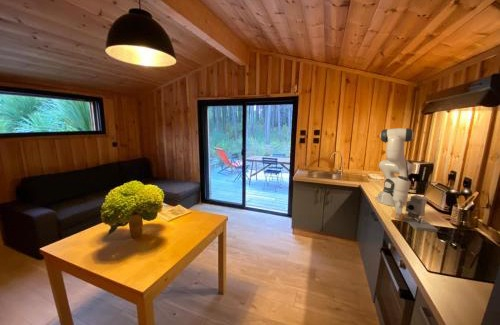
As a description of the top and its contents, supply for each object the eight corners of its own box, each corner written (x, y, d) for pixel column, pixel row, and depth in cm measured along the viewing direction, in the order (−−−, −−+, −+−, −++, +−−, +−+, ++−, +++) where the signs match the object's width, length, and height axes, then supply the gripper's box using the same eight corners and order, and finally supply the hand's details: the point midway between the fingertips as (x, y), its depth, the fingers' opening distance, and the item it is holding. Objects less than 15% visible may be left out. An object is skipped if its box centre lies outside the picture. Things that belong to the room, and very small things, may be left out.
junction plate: (403, 219, 163) (404, 210, 161) (422, 221, 161) (424, 212, 160) (416, 229, 147) (418, 220, 146) (437, 232, 145) (439, 222, 144)
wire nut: (391, 216, 168) (392, 208, 167) (398, 217, 167) (400, 209, 166) (395, 219, 163) (396, 211, 162) (402, 219, 162) (403, 212, 161)
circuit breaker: (403, 215, 171) (406, 197, 168) (413, 212, 177) (416, 195, 175) (414, 219, 164) (417, 200, 162) (423, 216, 171) (427, 198, 168)
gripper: (406, 203, 152) (402, 221, 154) (404, 195, 169) (401, 212, 172) (395, 201, 155) (392, 219, 158) (394, 194, 172) (391, 210, 175)
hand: (396, 215), depth 165 cm, fingers open, 6 cm apart
